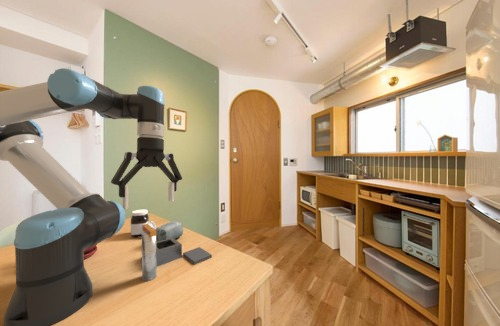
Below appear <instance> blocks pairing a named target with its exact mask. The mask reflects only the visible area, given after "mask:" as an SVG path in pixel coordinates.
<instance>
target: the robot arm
mask: <svg viewBox="0 0 500 326" xmlns="http://www.w3.org/2000/svg"><path fill="white" fill-rule="evenodd" d="M165 106H166V105H165V94H164V92H163V91H162V89H160V88H158V87H155V86H151V85H142V86H139V87H137V91H136V93H132V94H128V93H127V94H126V93H125V94H124V93H120V92H117V91H116V90H114V89H112V88H110V87H108V86H106V85H104V84H102V83H100V82H98V81H96V80H94V79H92V78H90V77H89V76H87V75H86V74H84V73H80V72H77V71H75V70H73V69H71V68H67V67H66V68H63V67H62V68H58V69H55V70H54V72H53V73H50V75H49V76H48V78H47V81H46V82H41V83H36V84H31V85H27V86H22V87H21V86H20V87H15V88H11V89H7V90H1V91H0V161H4V162H8V163H9V164H10V165H12V167H14V169H16V170H17V171H18V172H19V173H20V174H21V175H22V176H23V177H24V178H25V179H26V180H27V181H28V182H29V183H30V184H31V185H32V186H33V187H35V189H36V190H37V191H38V192H39V193H41V195H43V197H45V199H47V200H48V201H49V203H51V204H52V205H53V206H54V207H55V209H54V210H47V211H43V212H39V213H37V214H33V215H31V216H29V217H27V218H25V219H24V220H22V221H20V222H19V223H18V224H17V227H16V229H15V236H14V237H15V238H14V240H13V246H14V252H15V290H14V291H13V294H12V297H11V298H10V301H9V304H8V306H7V307H6V308H7V309H6V310H5V313H4V316H3V326H51V325H53V324H56V323H59V322H60V321H63V320H64V319H66V318H68V317H69V316H71V315H73V314H74V313H76V312H78V311H79V310H80V309H82V308H83V307H84V306H85V305H86V304H87V303H88V302H89V301H90V300H91V298H92V297H93V293H94V292H93V290H94V289H93V285H94V284H93V282H92V280H91V279H90V276H89V275H88V274H89V273H88V272H87V270H86V268H85V263H84V260H85V259H84V251H85V250H86V249H88V248H90V247H92V246H94V245H96V244H100V243H102V242H103V241H106V240H109V239H110V238H111V237H113V236H114V235H116V234H117V233H118V232H120V230H122V228H123V226H124V225H125V222H126V211H125V210H128V209H129V204H130V203H129V202H130V201H129V199H130V197H129V196H130V195H129V194H130V193H129V191H130V190H129V189H130V188H129V185H127V184H128V183H129V182H131V180H132V179H133V178H134V177H135V175H136V174H137V173H138V172H139V171H140V170H141V169H142V168H143V167H144V168H159V169H160V171H162V172H163V174H164V175H165V176H166V177H167V178H168V179H169V182H168V197H167V198H168V200H167V201H168V202H170V203H174V202H175V192H176V191H177V190H178V189H177V188H178V187H177V185H178V182H179V181H181V180H183V177H182V175H181V172H180V170H179V167H178V166H177V164H176V162H175V159H174V153H166V154H165V153H164V150H165V144H164V143H165V140H164V139H163V138H164V137H165ZM81 110H82V111H83V110H89V111H93V112H96V113H97V114H99V116H100V117H101V118H104V119H112V120H122V119H123V120H131V119H132V120H137V121H136V125H137V127H136V134H137V136H138V137H137V139H136V152H135V153H134V152H132V151H127V152H124V157H123V160H122V162H121V164H120V165H119V167H118V169H117V171H116V172H115V174H114V176H113V177H112V179H111V181H110V183H111V184H113V185H115V186H118V196H119V198H122V205H121V204H120V202H117V201H115V200H114V201H113V200H106V199H105V198H104V197H102V195H100V193H92V192H91V193H90V192H89V191H88V190H87V188H86V187H84V186H83V185H82V184H81V183H80V182H79V181H78V180H77V179H76V178H75V177H74V176H73V175H72V174H71V173H70V172H69V171H68V170H67V169H66V168H64V167H63V166H62V165H61V164H60V163H59V162H58V161H57V160H56V159H55V158H54V156H52V155H51V153H49V152H48V151H47V150H46V149H45V148H44V147H43V146H44V135H43V130H42V128H41V126H39V125H40V124H38V123H36V122H35V121H34V120H37V119H41V118H47V117H51V116H56V115H60V114H65V113H71V112H77V111H81ZM134 159H136V160H137V162H136V163H135V164H134V165H133V167H131V169H130V170H129V171H128V172H127V173H126V170H127V168H128V167H129V166H130V163H131V161H132V160H134ZM164 160H166V161H167V164H168V166H169V167H170V170H169V168H168V166H166V164H165V163H164V162H163V161H164ZM124 173H126V174H125V175H124ZM123 175H124V176H123ZM122 177H123V178H122ZM96 246H97V245H96Z"/></svg>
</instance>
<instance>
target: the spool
mask: <svg viewBox="0 0 500 326" xmlns="http://www.w3.org/2000/svg"><path fill="white" fill-rule="evenodd" d="M155 230H156V242H157V241H161V240H164V239H168V238H171V237H172V238H174V239H175V240H176V239H177V238H179V237H182V236H183V234H184V228H183V224H182V223H181V222H180V221H178V220H172V221H169V222H166V223H164V224H162V225H160V226H159V227H157V228H156V229H155Z"/></svg>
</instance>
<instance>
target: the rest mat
mask: <svg viewBox="0 0 500 326" xmlns="http://www.w3.org/2000/svg"><path fill="white" fill-rule="evenodd" d="M182 257H184V258H186V259H187V260H188V261H189V262H190V263H192V264H193V265H197V264H199V263H202V262H205V261H206V260H210V259H211V258H212V257H213V255H212V254H211V253H210V252H208V251H206V250H205V249H204V248H202V247H200V246H198V247H196V248H193V249H191V250H187V251H185V252H182Z"/></svg>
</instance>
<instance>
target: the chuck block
mask: <svg viewBox="0 0 500 326" xmlns="http://www.w3.org/2000/svg"><path fill="white" fill-rule="evenodd" d="M182 250H183V247H182V243H181V242H179V241H178V240H176V239H174V238H172V237H171V238H168V239H164V240H161V241H157V242H156V257H157V267H160V266H162V265H166V264H167V263H171V262H173V261H176V260H179V259H181V258H183V251H182Z"/></svg>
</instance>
